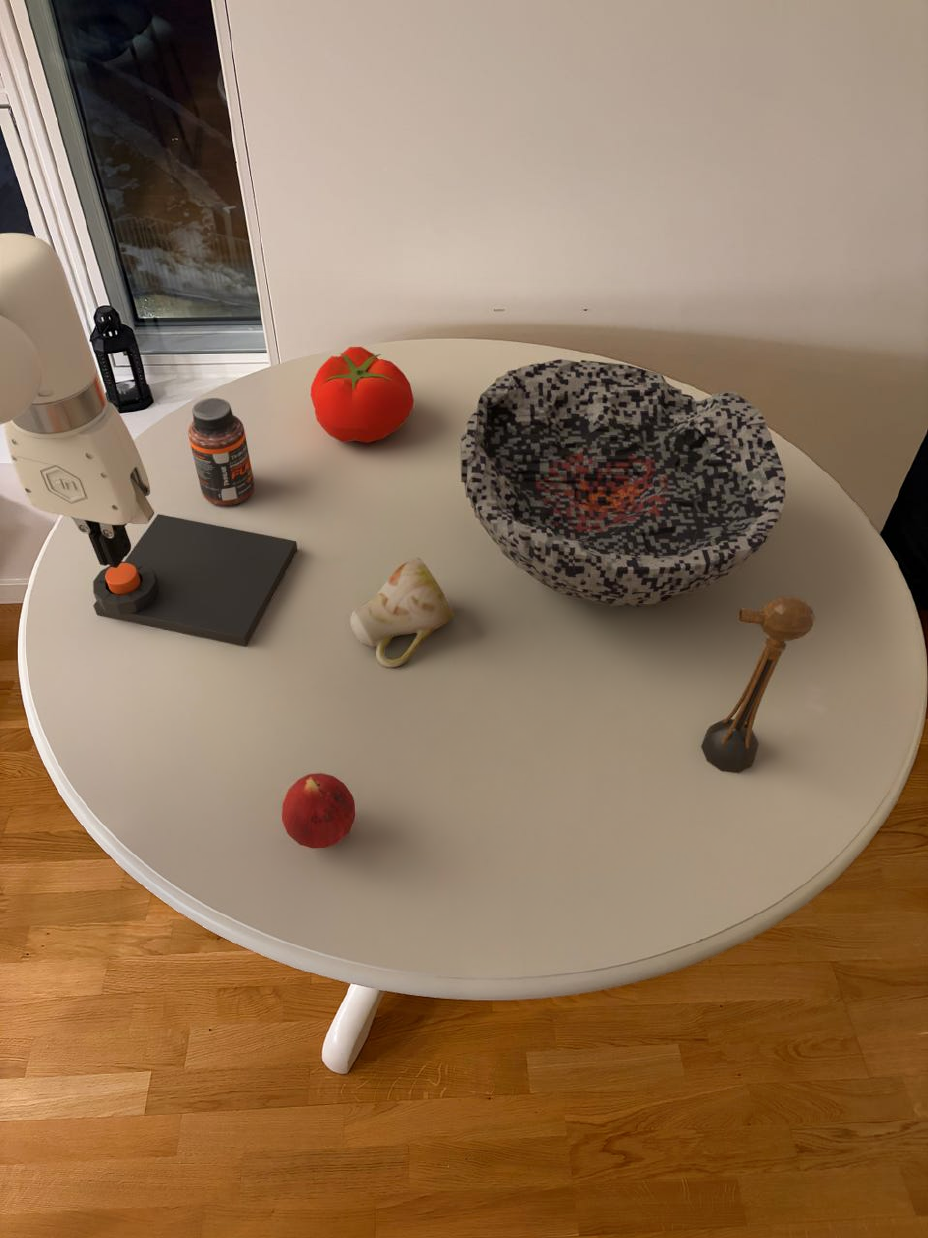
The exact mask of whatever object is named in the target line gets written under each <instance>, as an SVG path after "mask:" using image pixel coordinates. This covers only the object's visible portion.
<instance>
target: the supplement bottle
mask: <svg viewBox="0 0 928 1238" xmlns="http://www.w3.org/2000/svg"><path fill="white" fill-rule="evenodd" d="M191 411H192V416H193V418H192V419H193V420H192V422H191V423H190V424H189V427H188V430H187V435H188V439H189V444H190V447H191V448H190V449H191V452H192V456H193V461H194V465H195V469H196V475H197V477H198V482H199V486H200V489H201V494H202V496H203V497H204V498H205V500H206V501H208V502H210V503H211V504H214V505H217V506H234V505H237V504H240V503H242V502H244V501H245V500H247V499H248V498H250V496H251V495H252V494H253V493H254V489H255V483H254V475H253V470H252V464H251V458H250V453H249V447H248V441H247V436H246V432H245V427H244V423H243V421H242V420H241V419H240V418H239V417H237V416H236V415H234V414H233V411H232V406H231V404H230V403H229V402H228V400H226V399H223V398H219V397H209V398H204V399H201V400H199V401H198V402H196V403H195V404H194V405H193V407H192V410H191Z"/></svg>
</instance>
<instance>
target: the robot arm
mask: <svg viewBox="0 0 928 1238" xmlns="http://www.w3.org/2000/svg"><path fill="white" fill-rule="evenodd" d="M0 425H3V429H4V436H5V441H6V443H7V444H6V445H7V449H8V452H9V455H10V458H11V461H12V465H13V468H14V470H15V473H16V475H17V479H18V481H19V483H20V486H21V487H22V490H23V494H24V495H25V497H26V499H27V500H28V502H29V503H30V505H31V506H33V507H34V508H36V509H38V510H40V511H43V512H45V513H50V514H55V515H60V516H65V517H68V518H71V519H72V520H73V522H74V524H75V525H76V527H77V528H78V530H79V531H80V532H81V533H83V534H85V535H86V534H87V535H88V539H89V542H90V544H91V546H92V548H93V551H94V554H95V556H96V559H97V561H98V563H99V565H100V566H105V567H108V566H110V567H114V568H117V567H118V566H119V564H120V563H121V562H123V560H124V559H125V558H127V557H128V556H129V554H130V553H131V551H132V542H131V540H130V537H129V534H128V531H127V529H126V526H127V525H128V524H132V525H140V524H141V525H147V524H149V522H150V520H151V519H152V518H153V516H154V515H155V510H154V509H153V507H152V505H151V503H150V502H149V501H148V499H147V497H148V496H150V494H151V486H150V481H149V478H148V475H147V471H146V468H145V465H144V463H143V460H142V457H141V455H140V453H139V450H138V448H137V446H136V443H135V440H134V439H133V437H132V435H131V433H130V431H129V428H128V427H127V425H126V423H125V420H124V419H123V417H122V416H121V414H120V412H119V411H118V409H117V407H116V406H115V404H114V403H112V402H111V401H108V398H107V394H106V392H105V389H104V386H103V383H102V380H101V377H100V374H99V371H98V369H97V365H96V361H95V359H94V356H93V353H92V350H91V346H90V344H89V340H88V338H87V334H86V331H85V328H84V326H83V323H82V319H81V317H80V314H79V310H78V308H77V304H76V302H75V299H74V296H73V293H72V289H71V286H70V283H69V281H68V277H67V275H66V272H65V269H64V266H63V263H62V260H61V258H60V256H59V255H58V253H57V252H56V250H55V249H54V248H53V247H52V246H51V245H50V244H49V243H48V242H47V241H45V240H44V239H42V238H39V237H37V236H34V235H30V234H26V233H20V232H19V233H18V232H5V233H0Z"/></svg>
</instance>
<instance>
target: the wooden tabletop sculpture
mask: <svg viewBox="0 0 928 1238" xmlns="http://www.w3.org/2000/svg"><path fill="white" fill-rule="evenodd" d="M815 620H816V616H815V613H814V611H813V608H812V606H811V605H810V604H809V603H808V602H807V601H806V600H802V599H801V598H798V597H792V596H791V597H790V596H787V597H786V596H785V597H784V596H782V597H779V598H775V599H774V600H772V601H771V602H769V603H768V604H766V605H765V606H764V607H763V609H762V610H759V609H751V608H740V609H739V611H738V623H745V624H752V625H753V624H754V625H760V628H761V629H762V631H763V632H764V634H766V635H767V636H768V637H766V638H765V642H764V647H763V649H762V652H761V654H760V656H759V658H758V661H757V663H756V665H755V668H754V670H753V672H752V674H751V676H750V678H749V681H748V682H747V685H746V687H745V689H744V691H743V692H742V694H741V696H740V698H739V699H738V702H737V703H736V705H735V706H734V707H733V709H732V710H731V712H730V713H729V714H728V715H727V716H726V717H725V718H723V719H721V720H720V721H717V722H716V723H714V724H712V725H710V726H709V727H708V728H707V730H706V733H705V734H704V737H703V740H702V743H701V746H700V748H701V751H702V752H703V755H704V757H705V759H706V762H708V763H709V764H711V765H712V766H714V767H715V768H716V769H718V770H719V771H721V772H727V773H735V774H740V773H741V772H743V771H746V770H747V769H750V768H752V766H753V764H754V762H755V759H756V756H757V752H758V750H759V741H758V738H757V736H756V734H755V732H754V730H753V726H754V723H755V720H756V716H757V713H758V711H759V707H760V704H761V701H762V698H763V697H764V694H765V691H766V689H767V687H768V684H769V682H770V681H771V678H772V676H773V673H774V671H775V670H776V667H777V665H778V663H779V660H780V658H781V656H782V654H783V652H784V651H785V650H786V648H787V643H786V642H791V641H796V640H799V639H801V638H803V637H805V636H806V635H807V634H808V633H809V632H810V631H812V628H813V626H814V623H815ZM734 716H735V717H734ZM733 717H734V718H733Z"/></svg>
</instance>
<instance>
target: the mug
mask: <svg viewBox="0 0 928 1238" xmlns="http://www.w3.org/2000/svg"><path fill="white" fill-rule="evenodd" d="M454 617H455V615H454V611H453V609H452V607H451V604H450V602H449V601H448V599H447V597H446V595H445V593H444V591H443V590H442V588H441V586H440V584H439V583H438V581H437V580H436V578H435V576H434V575H433V573H432V572H431V571H430V569H429V568H428V566H427V565H426V563H425V562H424V561H423V560H422V559H421V558H420V557H416V558H413V559H411V560H408V561H405V562H404V563H403V564H401V565H400V566H399V567H398V568H397V569H395V570H394V572H393V573H392V574H391V575H390V577H389V578H388V579H387V580H386V582H385V583H384V584H383V586H382V587H381V588H380V590H379V591H378V592H377V593H376V594H375V596H374V597H372V598H371V599H370V600H369V601H368V602H366V603H365V604H363V605H361V606H359V607H358V608H356V609H355V610H353V611H352V613H351V616H350V619H349V624H350V626H351V630H352V632H353V634H354V636H355V637H356V638H357V639H358V641H359V642H360V643H362V644H363V645H365V646H367V647H368V646H369V647H376V651H375V658H376V661H377V662H378V663H379V665H381V666H383V667H385V668H396V667H399V666H401V665H403V664H404V663H407V662H408V660H409V659H411V657H412V656H413V655H414V653H415V651H417V649H418V647H419V646H420V645H421V644H422V643H423V642H424V640H425V639H427V638H428V637H429V636H430V635H432V634H433V633H434V631H435V630H436V629H439V628H441V627H443V626H444V625H446V624H448V622H450V621H451V620H453V618H454ZM411 634H416V635H415V637H414V639H413V641H412V642H411V645H410V646H409V647H408V648H407V650H406V651H405V652H404V653H403V655H401V656H400V657H399V658H395V659H394V658H393V659H391V658H389V657H388V656H387V655H386V653H385V650H386V648H387V646H388V645H390V643H391V640H392V638H395V637H397V636H403V635H411Z"/></svg>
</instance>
